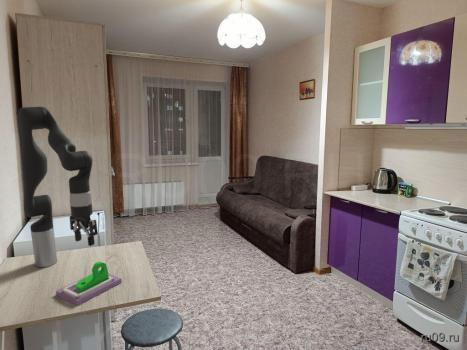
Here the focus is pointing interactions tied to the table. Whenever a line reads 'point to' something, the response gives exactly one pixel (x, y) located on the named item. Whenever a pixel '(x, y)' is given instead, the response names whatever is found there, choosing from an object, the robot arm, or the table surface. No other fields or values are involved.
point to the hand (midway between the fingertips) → (84, 242)
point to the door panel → (78, 297)
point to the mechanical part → (93, 277)
